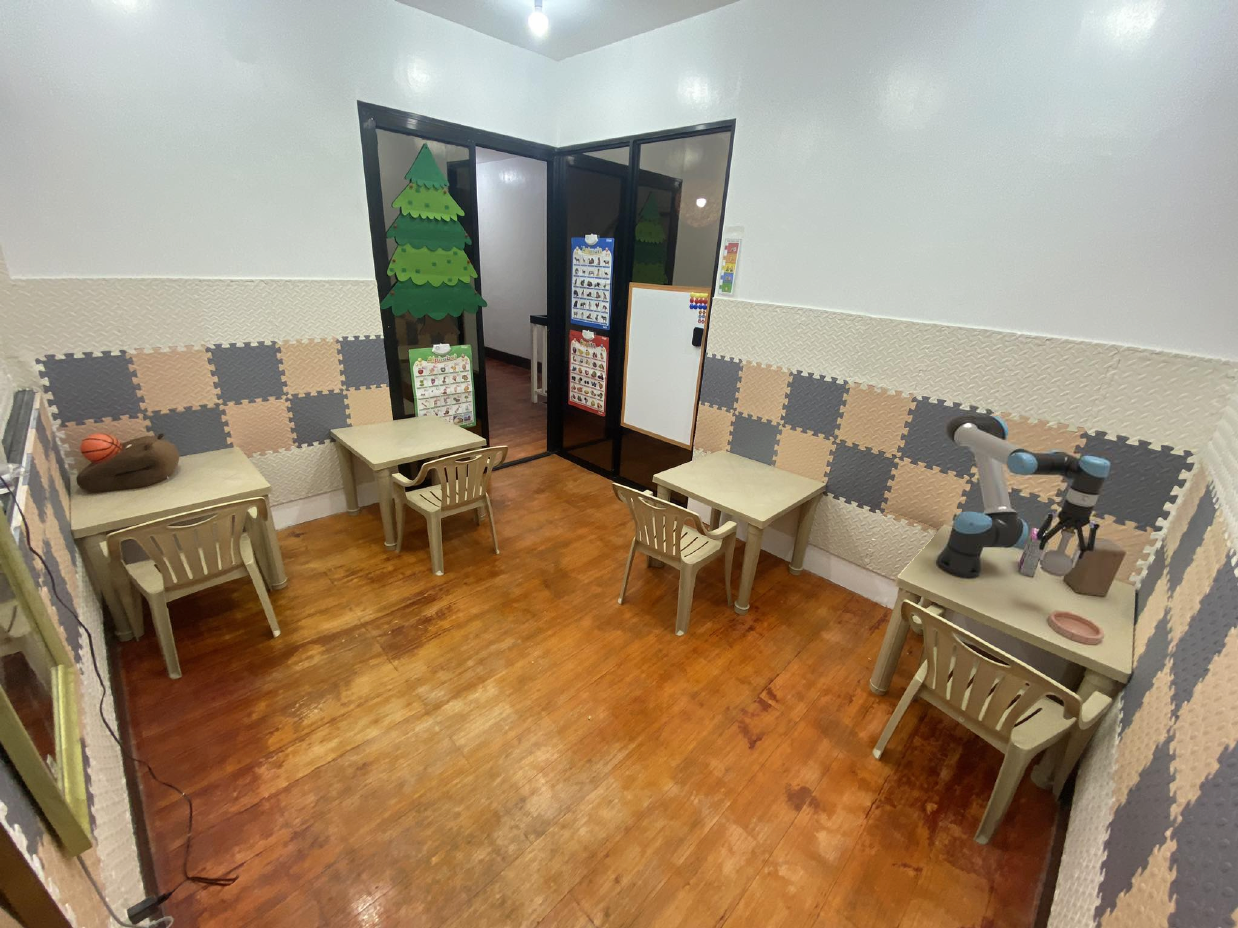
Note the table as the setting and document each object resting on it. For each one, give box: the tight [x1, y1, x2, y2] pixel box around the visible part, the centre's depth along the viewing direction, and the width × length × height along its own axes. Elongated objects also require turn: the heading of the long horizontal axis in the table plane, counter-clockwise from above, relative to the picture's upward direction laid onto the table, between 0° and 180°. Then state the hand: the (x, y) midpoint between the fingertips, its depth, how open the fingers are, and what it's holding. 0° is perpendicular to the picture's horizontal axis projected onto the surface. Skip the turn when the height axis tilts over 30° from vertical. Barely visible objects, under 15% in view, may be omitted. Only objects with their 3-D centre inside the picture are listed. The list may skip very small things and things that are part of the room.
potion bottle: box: [1039, 527, 1077, 578], centre depth 179 cm, size 9×9×18 cm
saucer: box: [1047, 610, 1106, 645], centre depth 176 cm, size 14×14×2 cm
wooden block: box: [1062, 535, 1127, 597], centre depth 197 cm, size 10×10×20 cm
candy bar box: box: [1018, 527, 1047, 578], centre depth 208 cm, size 11×5×16 cm, turn 143°
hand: (1056, 561), depth 181 cm, fingers closed on potion bottle, 8 cm apart
